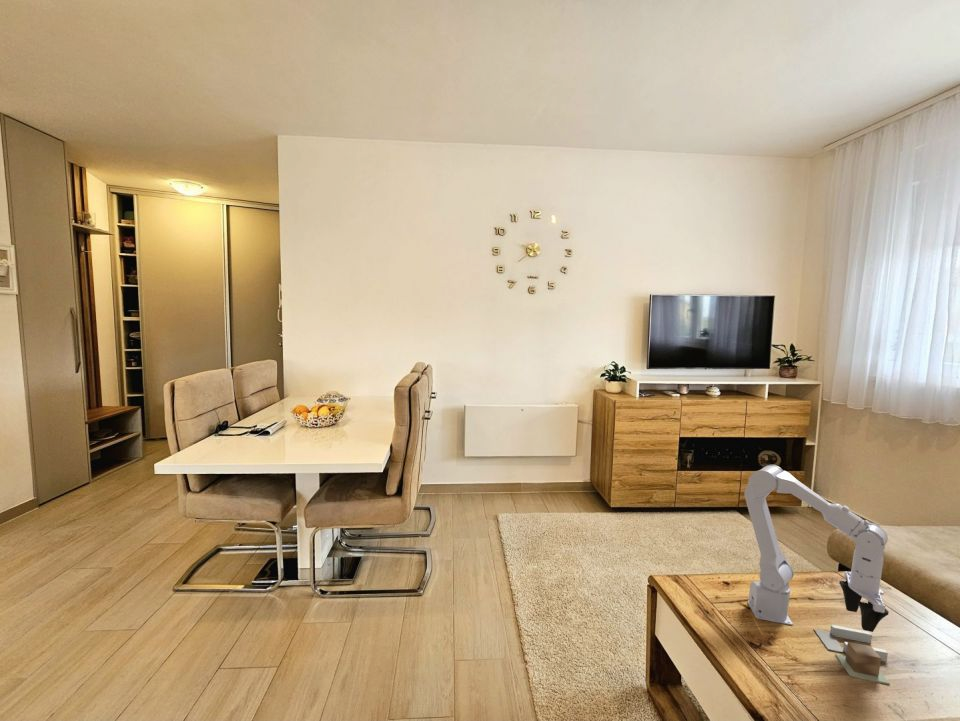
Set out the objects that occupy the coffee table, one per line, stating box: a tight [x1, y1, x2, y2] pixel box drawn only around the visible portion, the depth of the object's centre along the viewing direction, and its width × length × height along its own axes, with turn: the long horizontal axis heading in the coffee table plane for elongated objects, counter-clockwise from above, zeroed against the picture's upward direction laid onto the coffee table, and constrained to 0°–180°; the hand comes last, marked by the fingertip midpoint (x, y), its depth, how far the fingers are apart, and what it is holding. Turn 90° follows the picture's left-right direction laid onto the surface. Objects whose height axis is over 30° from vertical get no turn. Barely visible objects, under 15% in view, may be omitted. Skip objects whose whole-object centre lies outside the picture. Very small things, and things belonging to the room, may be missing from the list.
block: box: [845, 641, 882, 677], centre depth 109 cm, size 5×4×5 cm
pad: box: [834, 653, 890, 686], centre depth 109 cm, size 8×7×1 cm
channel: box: [813, 624, 889, 663], centre depth 117 cm, size 13×8×2 cm, turn 75°
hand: (859, 620), depth 114 cm, fingers open, 7 cm apart
